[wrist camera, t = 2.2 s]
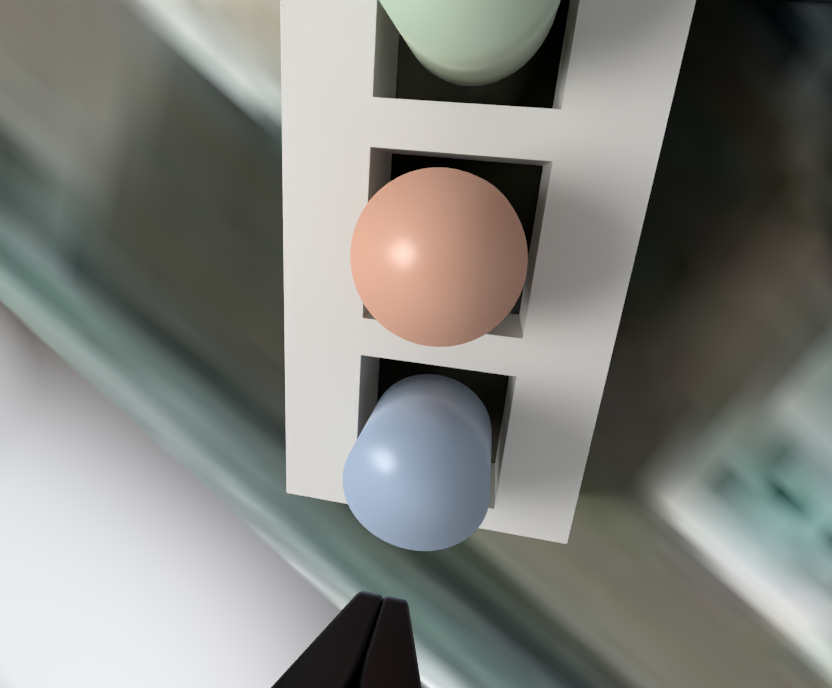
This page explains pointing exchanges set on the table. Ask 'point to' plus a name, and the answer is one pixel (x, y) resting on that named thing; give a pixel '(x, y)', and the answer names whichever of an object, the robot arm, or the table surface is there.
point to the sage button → (472, 35)
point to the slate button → (422, 464)
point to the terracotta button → (439, 257)
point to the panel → (549, 250)
